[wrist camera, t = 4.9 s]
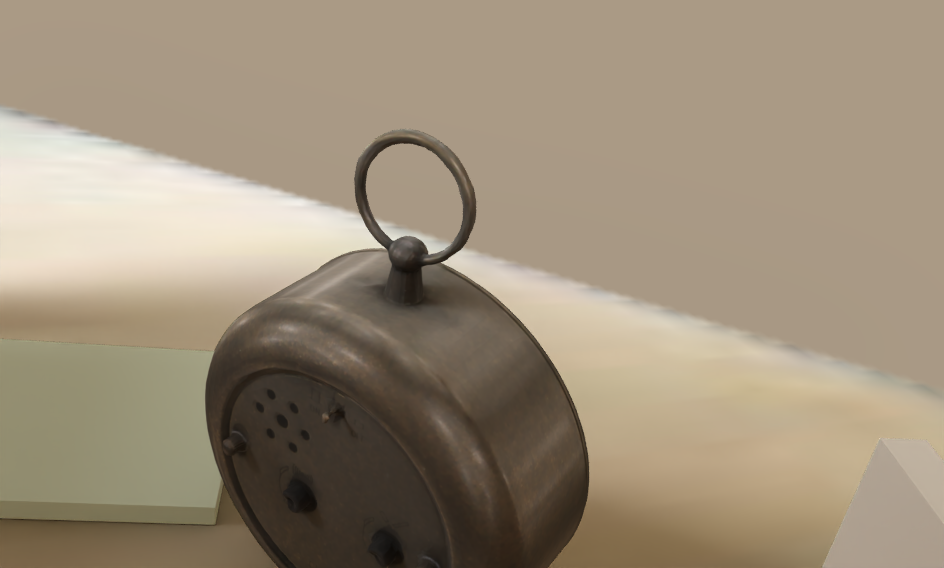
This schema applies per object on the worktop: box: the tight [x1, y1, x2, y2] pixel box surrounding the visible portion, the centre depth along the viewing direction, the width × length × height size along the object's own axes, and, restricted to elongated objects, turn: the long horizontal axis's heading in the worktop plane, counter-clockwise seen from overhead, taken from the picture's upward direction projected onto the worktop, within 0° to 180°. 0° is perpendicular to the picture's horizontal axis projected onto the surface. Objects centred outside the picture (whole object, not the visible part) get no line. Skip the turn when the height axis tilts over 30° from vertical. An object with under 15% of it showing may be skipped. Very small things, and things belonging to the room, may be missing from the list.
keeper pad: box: [0, 339, 224, 525], centre depth 33 cm, size 9×14×1 cm, turn 95°
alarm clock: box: [205, 129, 589, 568], centre depth 25 cm, size 11×5×16 cm, turn 56°
